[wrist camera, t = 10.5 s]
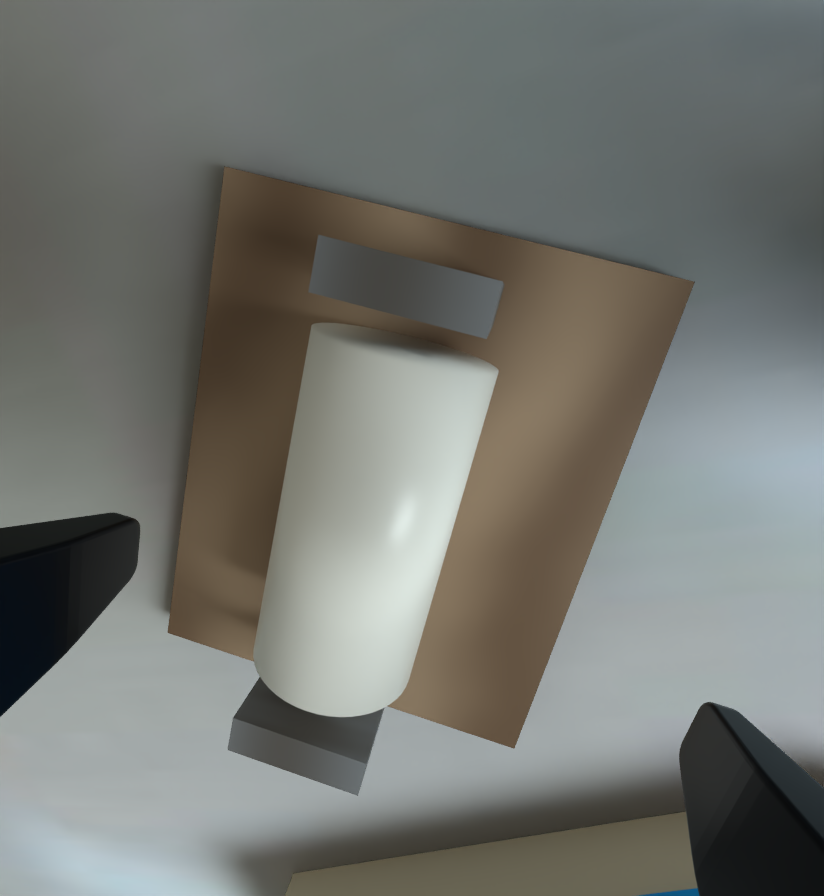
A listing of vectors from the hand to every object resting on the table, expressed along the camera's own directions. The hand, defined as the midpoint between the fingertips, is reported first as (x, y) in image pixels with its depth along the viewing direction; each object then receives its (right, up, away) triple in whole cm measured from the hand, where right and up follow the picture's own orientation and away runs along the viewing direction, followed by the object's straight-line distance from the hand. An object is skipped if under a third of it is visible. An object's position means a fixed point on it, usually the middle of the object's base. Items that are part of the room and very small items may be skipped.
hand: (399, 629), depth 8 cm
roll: (-1, +1, +10) cm, 10 cm away
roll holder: (-1, +2, +11) cm, 11 cm away
